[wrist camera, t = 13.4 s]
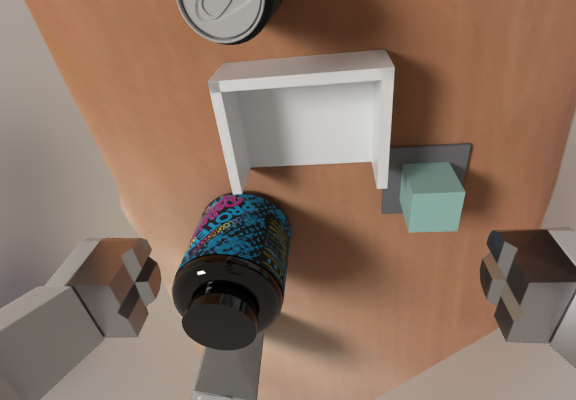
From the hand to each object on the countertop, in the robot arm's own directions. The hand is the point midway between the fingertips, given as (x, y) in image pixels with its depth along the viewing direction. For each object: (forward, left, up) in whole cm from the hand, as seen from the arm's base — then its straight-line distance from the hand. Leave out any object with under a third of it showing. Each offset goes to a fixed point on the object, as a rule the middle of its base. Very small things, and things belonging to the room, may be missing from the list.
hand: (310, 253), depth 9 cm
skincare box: (+42, -15, -31) cm, 55 cm away
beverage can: (-4, -6, -31) cm, 32 cm away
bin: (+9, -2, -31) cm, 32 cm away
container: (+24, -11, -31) cm, 41 cm away
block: (+18, +11, -31) cm, 37 cm away
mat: (+18, +11, -31) cm, 38 cm away
